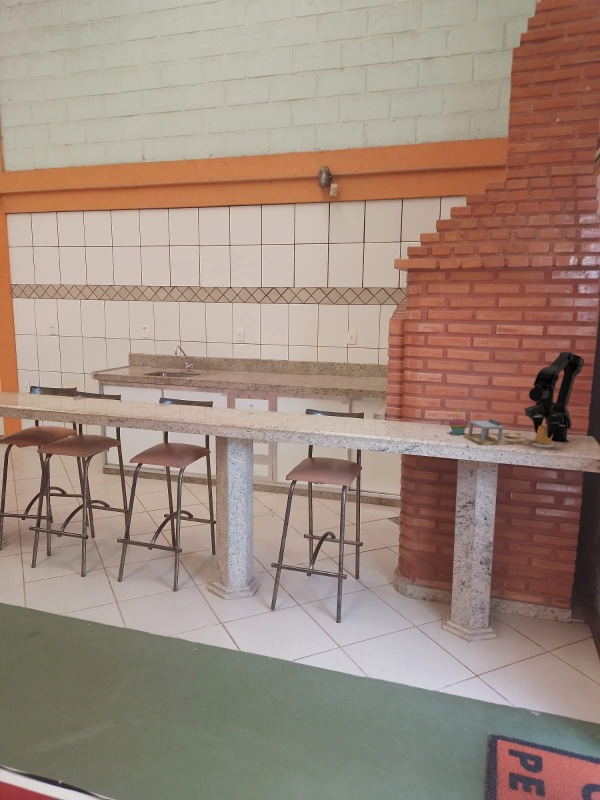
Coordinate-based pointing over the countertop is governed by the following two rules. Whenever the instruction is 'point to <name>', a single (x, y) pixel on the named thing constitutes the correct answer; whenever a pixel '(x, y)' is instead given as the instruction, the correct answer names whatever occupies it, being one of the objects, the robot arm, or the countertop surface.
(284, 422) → the countertop surface
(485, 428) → the grey toy table
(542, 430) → the block
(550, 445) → the dish
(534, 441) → the board
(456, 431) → the cupcake
